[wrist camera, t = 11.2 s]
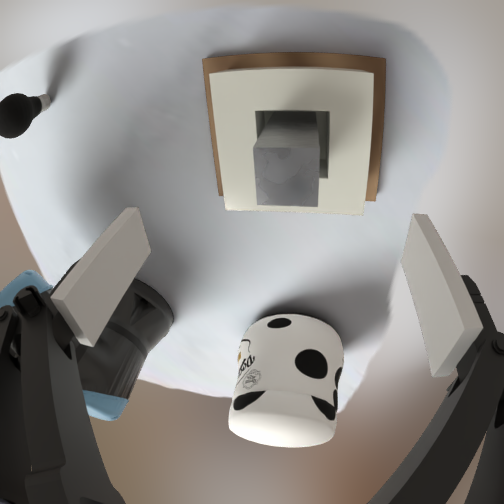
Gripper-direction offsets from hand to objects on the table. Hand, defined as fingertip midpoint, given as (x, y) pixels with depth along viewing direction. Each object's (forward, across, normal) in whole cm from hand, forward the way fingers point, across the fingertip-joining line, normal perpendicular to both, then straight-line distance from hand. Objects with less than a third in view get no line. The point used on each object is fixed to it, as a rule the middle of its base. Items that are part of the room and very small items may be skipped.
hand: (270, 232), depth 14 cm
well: (+19, +1, 0) cm, 19 cm away
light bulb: (+21, -32, +8) cm, 39 cm away
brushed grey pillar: (+18, +1, 0) cm, 18 cm away
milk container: (+21, +1, -35) cm, 40 cm away
